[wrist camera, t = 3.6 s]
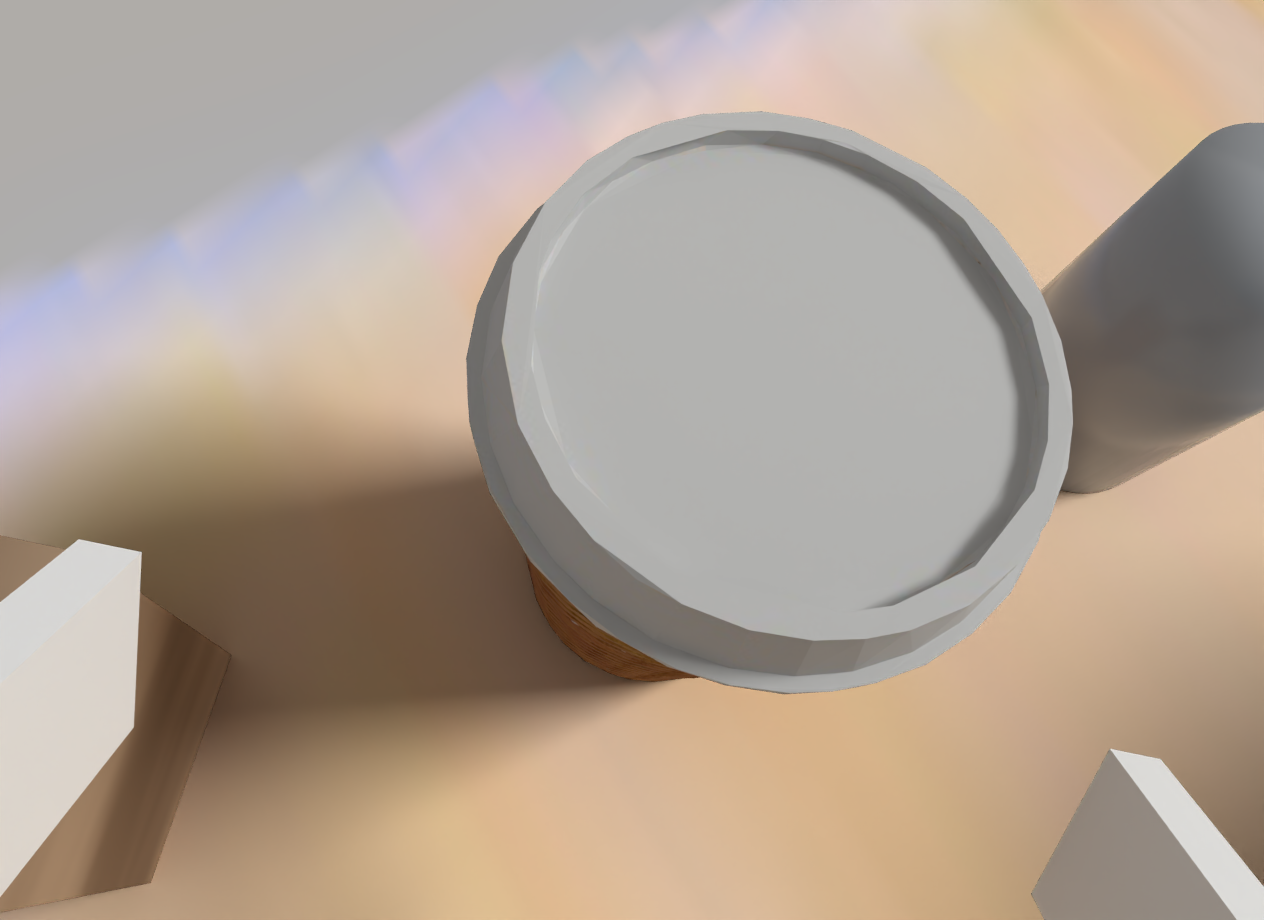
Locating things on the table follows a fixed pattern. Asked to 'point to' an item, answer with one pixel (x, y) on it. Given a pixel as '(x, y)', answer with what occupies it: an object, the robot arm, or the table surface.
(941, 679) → the table surface
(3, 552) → the walnut block
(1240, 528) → the table surface
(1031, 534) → the disposable coffee cup
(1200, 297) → the grey rounded cylinder
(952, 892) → the table surface
